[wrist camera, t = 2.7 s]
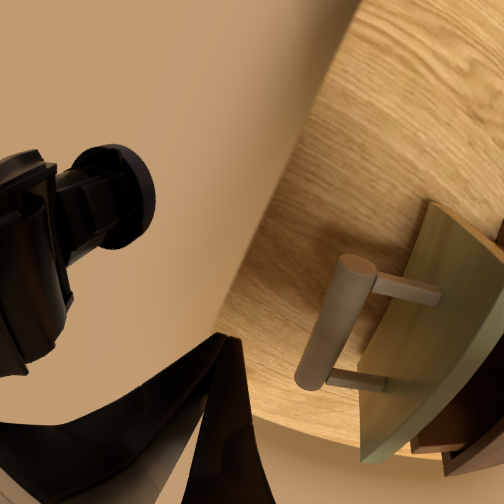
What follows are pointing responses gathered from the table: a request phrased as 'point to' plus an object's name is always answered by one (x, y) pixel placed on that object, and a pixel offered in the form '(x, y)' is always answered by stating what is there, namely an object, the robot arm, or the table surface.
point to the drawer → (419, 342)
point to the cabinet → (478, 441)
